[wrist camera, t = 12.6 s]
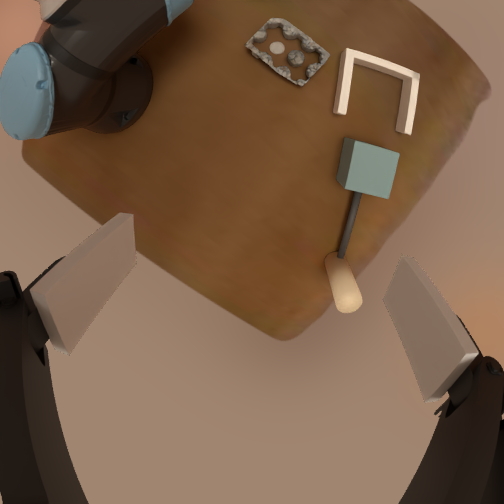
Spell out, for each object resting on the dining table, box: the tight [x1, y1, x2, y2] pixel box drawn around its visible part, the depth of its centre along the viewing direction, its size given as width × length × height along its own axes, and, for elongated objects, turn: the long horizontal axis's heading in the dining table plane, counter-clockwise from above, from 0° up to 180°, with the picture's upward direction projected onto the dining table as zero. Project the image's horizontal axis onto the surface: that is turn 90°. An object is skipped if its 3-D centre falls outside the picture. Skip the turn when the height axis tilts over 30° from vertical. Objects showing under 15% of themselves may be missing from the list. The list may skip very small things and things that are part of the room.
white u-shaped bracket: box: [333, 48, 420, 135], centre depth 32 cm, size 12×10×4 cm
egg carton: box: [244, 18, 330, 86], centre depth 31 cm, size 11×8×4 cm
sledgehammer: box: [324, 137, 400, 313], centre depth 38 cm, size 7×24×12 cm, turn 172°
